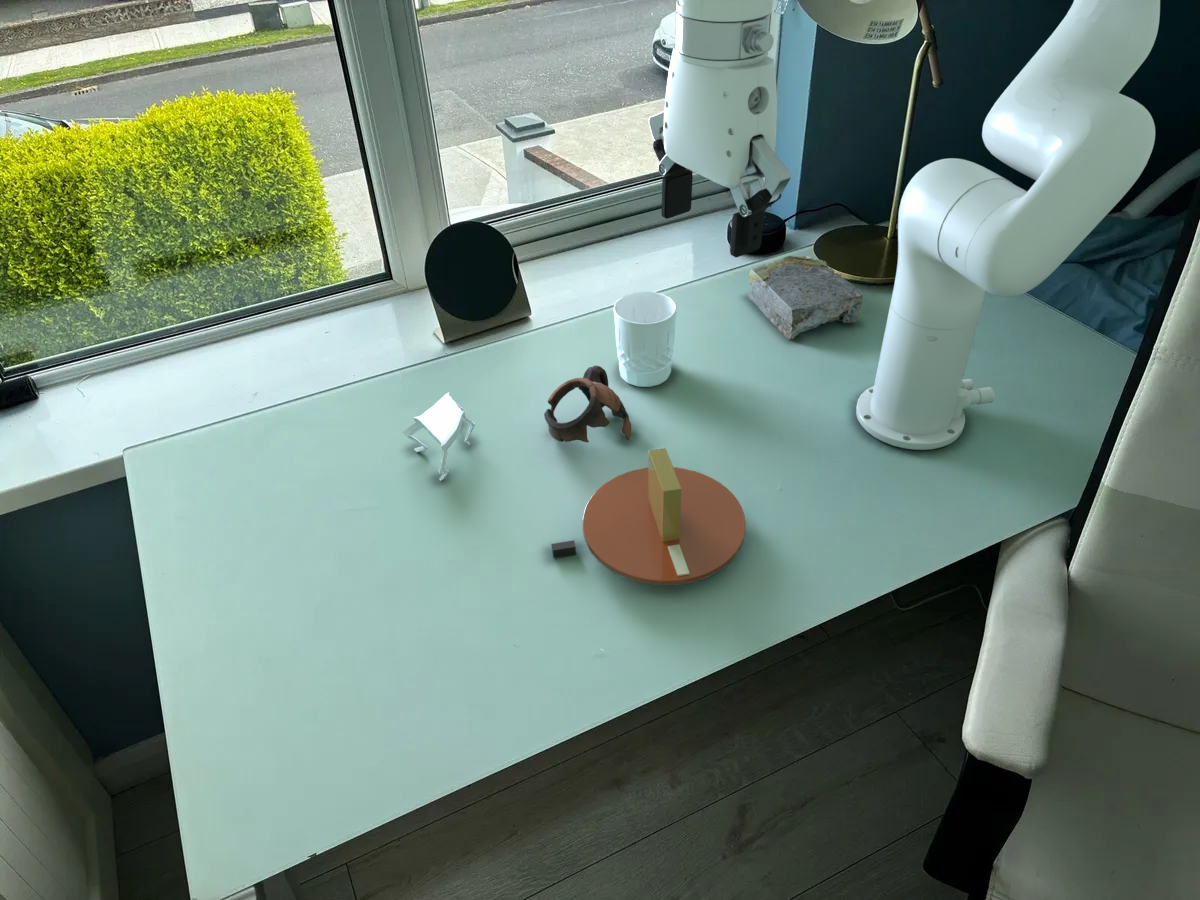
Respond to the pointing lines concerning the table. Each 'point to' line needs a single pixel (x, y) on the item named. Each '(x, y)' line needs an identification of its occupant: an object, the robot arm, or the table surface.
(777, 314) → the geological specimen
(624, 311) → the white cup
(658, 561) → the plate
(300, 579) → the table surface
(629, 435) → the pottery mug
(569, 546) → the dark grey rectangular block
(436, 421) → the origami figure
